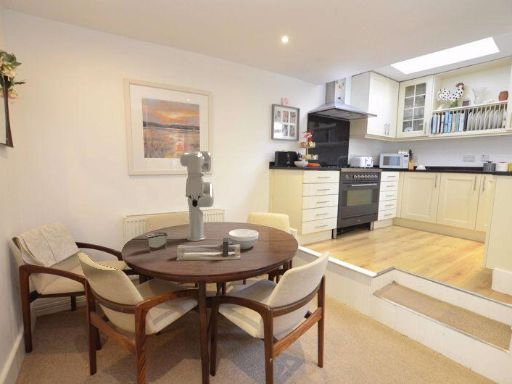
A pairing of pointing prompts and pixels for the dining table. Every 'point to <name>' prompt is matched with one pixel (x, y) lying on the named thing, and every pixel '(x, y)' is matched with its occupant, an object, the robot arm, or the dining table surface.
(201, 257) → the pipe rig
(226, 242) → the collar
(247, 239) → the bowl
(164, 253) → the dining table surface
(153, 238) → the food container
